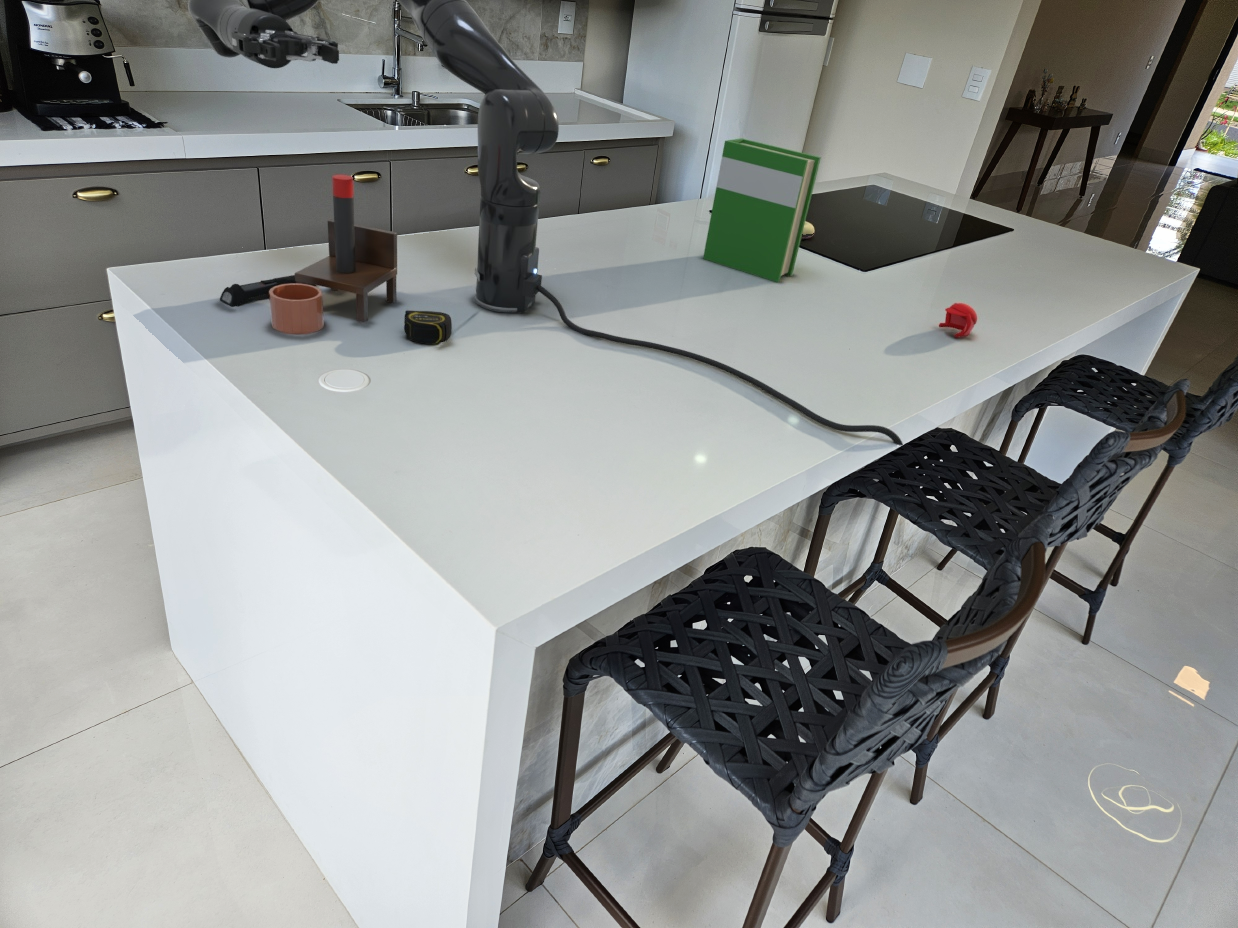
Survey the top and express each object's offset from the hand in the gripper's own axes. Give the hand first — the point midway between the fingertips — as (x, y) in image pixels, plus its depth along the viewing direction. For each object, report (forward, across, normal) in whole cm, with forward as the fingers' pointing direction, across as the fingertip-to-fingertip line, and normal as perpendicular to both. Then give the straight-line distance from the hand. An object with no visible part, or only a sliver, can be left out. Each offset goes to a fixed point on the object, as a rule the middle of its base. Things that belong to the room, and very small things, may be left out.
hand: (307, 54), depth 121 cm
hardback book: (+23, +84, +34) cm, 94 cm away
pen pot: (+17, -11, +34) cm, 40 cm away
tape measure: (+27, +3, +34) cm, 44 cm away
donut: (+9, +117, +34) cm, 123 cm away
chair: (+12, -1, +34) cm, 36 cm away
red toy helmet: (+66, +93, +34) cm, 119 cm away
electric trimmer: (+4, -10, +34) cm, 36 cm away
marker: (+12, -1, +28) cm, 31 cm away
